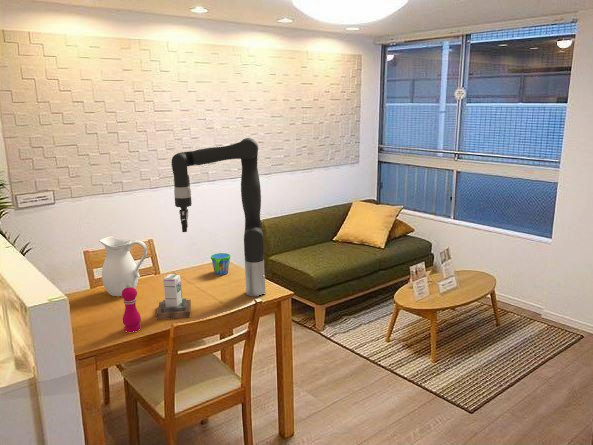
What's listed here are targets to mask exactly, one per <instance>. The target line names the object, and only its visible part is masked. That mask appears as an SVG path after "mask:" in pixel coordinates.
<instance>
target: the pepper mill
mask: <svg viewBox="0 0 593 445" xmlns="http://www.w3.org/2000/svg"><path fill="white" fill-rule="evenodd" d="M126 287H127V288H125V289H123V291H122V296H121V298H122V299H123V304H124V312H123V315H122V324H123V325H124V332H125V331H127V332H133V331H134V333H136V332H135V331H137V332H138V330H139V329H140V328H141V322H142V321H141V320H142V317H141V315H140V313H139V311H138V309H137V306H136V305H137V304H136V303H137V295H138V291H137V289H135V288H133V287H131V285H130V284H127V285H126ZM140 330H141V329H140ZM140 330H139V331H140ZM127 332H126V333H127Z"/></svg>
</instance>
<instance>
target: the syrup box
mask: <svg viewBox="0 0 593 445" xmlns="http://www.w3.org/2000/svg"><path fill="white" fill-rule="evenodd" d="M162 283H163V289H164V290H163V292H164V300H165V303H166V308H168V307H181V306H182V305H183V301H182V299H183V292H182V291H183V290H182V281H181V275H180V274H175V273H171V274H170V273H169V274H167V275H166V276H165V277H164V278H163V282H162Z"/></svg>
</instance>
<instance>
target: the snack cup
mask: <svg viewBox="0 0 593 445" xmlns="http://www.w3.org/2000/svg"><path fill="white" fill-rule="evenodd" d="M210 260H211V262H212V266H213V271H214V274H215V275H218V276H223V275H226V274H228V273H229V269H230V260H231V254H230V253H224V252H222V253H221V252H219V253H214V254H212V255H211V256H210Z"/></svg>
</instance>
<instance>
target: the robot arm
mask: <svg viewBox="0 0 593 445" xmlns="http://www.w3.org/2000/svg"><path fill="white" fill-rule="evenodd" d="M258 153H259V145H258V143H257V141H256V140H255V139H254V138H252V137H251V138H250V137H246V138H243V139H241V141H239V142H236V143H234V144H230V145H226V146H225V145H224V146H216V147H214V146H213V147H206V148H200V149H196V150H190V151H181V152H178V153H175V154H174V155H173V156H172V158H171V169H172V174H173V185H174V189H173V192H174V206H175V207H176V208H180V209H179V212H178V213H179V220H180V224H181V229H182V230H181V231H182V233H187V232H188V227H189V225H188V220H189V209H188V208H189V207H191V206H192V189H191V183H190V182H191V181H190V176H189V174H188V167H191V166H202V165H208V164H213V163H218V162H222V161H227V160H240V162H241V163H240V164H241V176H240V178H241V179H240V192H241V194H240V196H241V204H242V209H243V213H244V234H243V247H244V248H243V249H244V255H243V256H244V270H245V271H244V273H245V274H244V275H245V293H246V295H247V296H248V297H260V296H259V295H261V294H264V293H265V294H266V276H265V249H264V246H265V244H264V232H263V229H262V222H261V209H262V208H261V206H262V190H261V189H262V188H261V182H260V176H259V171H258V156H259V154H258ZM261 296H262V295H261Z"/></svg>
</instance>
